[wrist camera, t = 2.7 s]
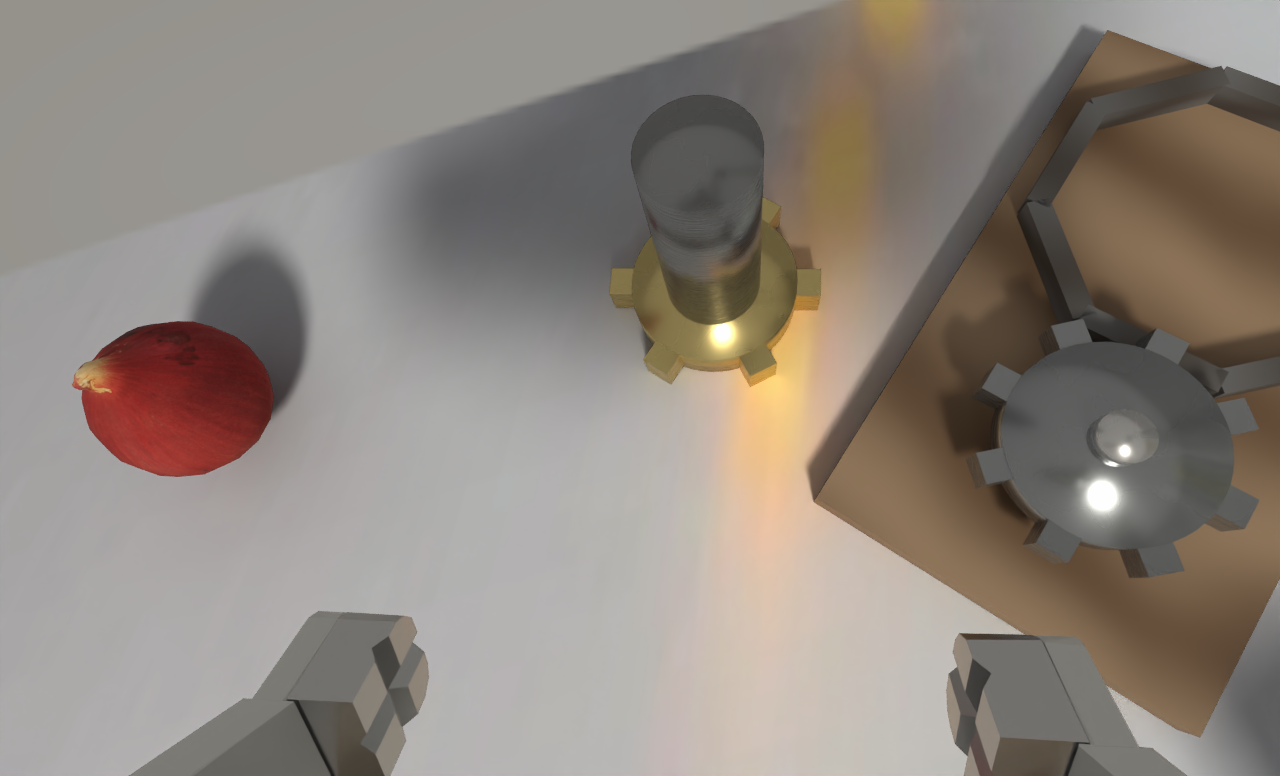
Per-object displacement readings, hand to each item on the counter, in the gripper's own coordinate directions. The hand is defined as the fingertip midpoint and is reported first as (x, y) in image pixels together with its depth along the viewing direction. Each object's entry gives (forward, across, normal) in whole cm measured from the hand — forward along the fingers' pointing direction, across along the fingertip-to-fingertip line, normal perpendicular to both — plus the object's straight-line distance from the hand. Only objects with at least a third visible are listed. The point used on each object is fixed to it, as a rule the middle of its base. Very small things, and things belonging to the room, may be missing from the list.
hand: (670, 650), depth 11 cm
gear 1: (+20, 0, +2) cm, 20 cm away
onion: (+16, +20, +6) cm, 26 cm away
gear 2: (+14, -12, +6) cm, 19 cm away
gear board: (+18, -15, +4) cm, 24 cm away
